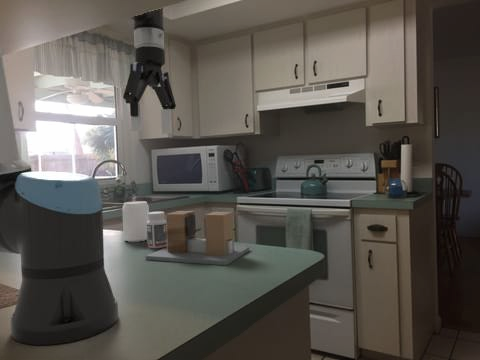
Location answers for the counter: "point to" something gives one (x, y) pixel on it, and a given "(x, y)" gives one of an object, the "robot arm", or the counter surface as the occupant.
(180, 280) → the counter surface
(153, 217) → the pill bottle
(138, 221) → the white piece
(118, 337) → the counter surface
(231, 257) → the rail
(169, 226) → the notched tan block
